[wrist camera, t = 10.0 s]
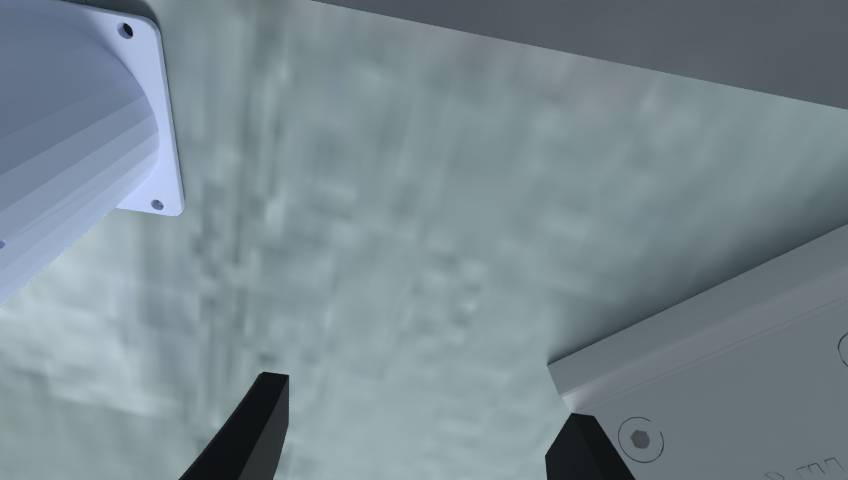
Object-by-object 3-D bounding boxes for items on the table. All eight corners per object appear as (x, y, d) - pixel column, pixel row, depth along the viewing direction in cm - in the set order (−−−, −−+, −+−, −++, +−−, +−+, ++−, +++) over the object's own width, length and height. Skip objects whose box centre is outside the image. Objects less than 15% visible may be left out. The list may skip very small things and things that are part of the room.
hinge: (859, 218, 20) (1123, 445, 14) (850, 257, 23) (1060, 456, 17) (540, 368, 26) (625, 575, 20) (569, 383, 29) (649, 564, 23)
